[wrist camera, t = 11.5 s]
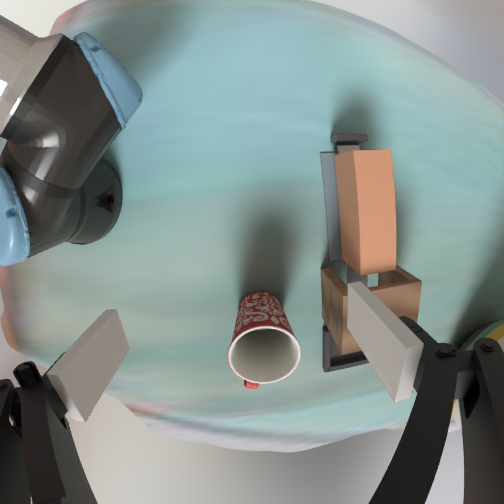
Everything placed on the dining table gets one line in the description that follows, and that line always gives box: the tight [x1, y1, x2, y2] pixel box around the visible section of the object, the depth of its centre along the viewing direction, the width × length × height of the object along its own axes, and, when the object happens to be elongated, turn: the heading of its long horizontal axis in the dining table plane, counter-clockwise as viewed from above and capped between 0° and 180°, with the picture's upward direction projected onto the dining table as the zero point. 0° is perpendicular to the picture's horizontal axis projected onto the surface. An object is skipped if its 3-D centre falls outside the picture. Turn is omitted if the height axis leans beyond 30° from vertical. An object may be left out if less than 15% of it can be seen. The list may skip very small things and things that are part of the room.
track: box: [330, 134, 368, 287], centre depth 41 cm, size 31×5×3 cm, turn 7°
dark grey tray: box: [323, 327, 370, 372], centre depth 47 cm, size 9×12×2 cm
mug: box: [228, 292, 301, 389], centre depth 40 cm, size 13×9×14 cm
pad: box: [320, 153, 342, 261], centre depth 42 cm, size 17×9×1 cm, turn 7°
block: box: [334, 150, 396, 275], centre depth 37 cm, size 16×6×8 cm, turn 7°
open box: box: [321, 265, 422, 355], centre depth 40 cm, size 9×12×12 cm
